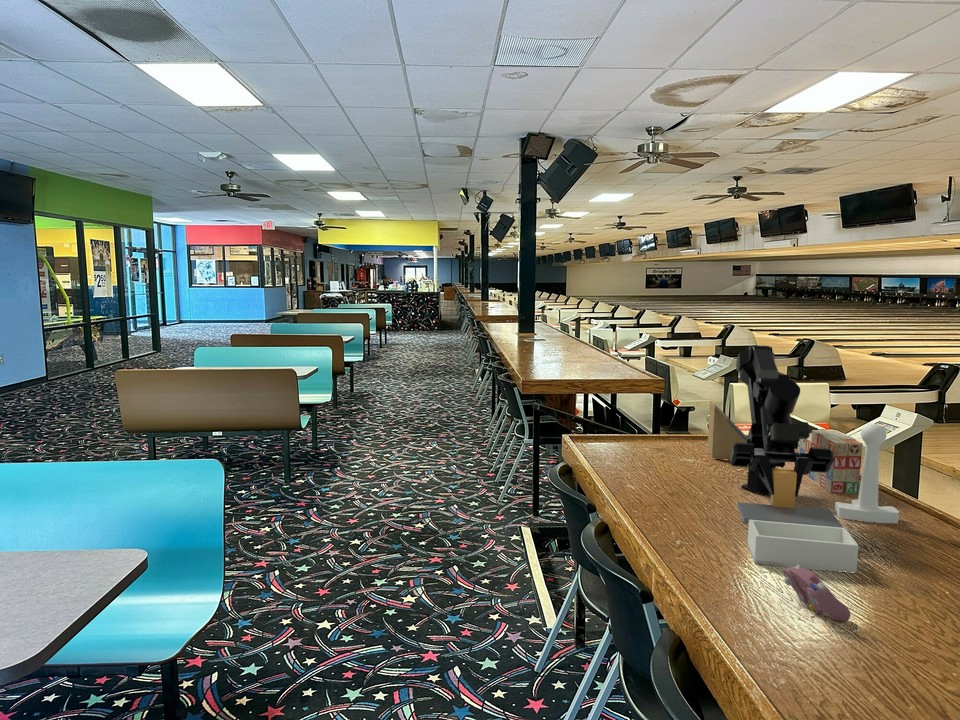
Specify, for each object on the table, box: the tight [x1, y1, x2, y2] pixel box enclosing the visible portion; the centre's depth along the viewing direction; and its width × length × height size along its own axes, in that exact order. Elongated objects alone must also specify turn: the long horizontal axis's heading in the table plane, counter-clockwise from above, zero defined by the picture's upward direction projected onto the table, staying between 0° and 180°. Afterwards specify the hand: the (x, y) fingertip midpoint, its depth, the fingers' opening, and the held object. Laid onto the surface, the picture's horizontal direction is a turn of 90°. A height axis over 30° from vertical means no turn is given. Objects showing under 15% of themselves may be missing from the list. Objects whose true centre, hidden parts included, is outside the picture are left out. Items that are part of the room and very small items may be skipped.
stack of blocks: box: [795, 429, 864, 495], centre depth 160 cm, size 21×6×12 cm, turn 176°
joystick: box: [834, 423, 900, 524], centre depth 135 cm, size 11×8×20 cm
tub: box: [747, 520, 860, 574], centre depth 115 cm, size 8×16×5 cm, turn 76°
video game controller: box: [782, 565, 851, 623], centre depth 98 cm, size 10×5×7 cm, turn 5°
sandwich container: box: [707, 400, 748, 461], centre depth 179 cm, size 9×15×15 cm, turn 79°
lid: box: [736, 468, 844, 528], centre depth 126 cm, size 11×17×9 cm, turn 76°
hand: (784, 495), depth 129 cm, fingers closed on lid, 4 cm apart
